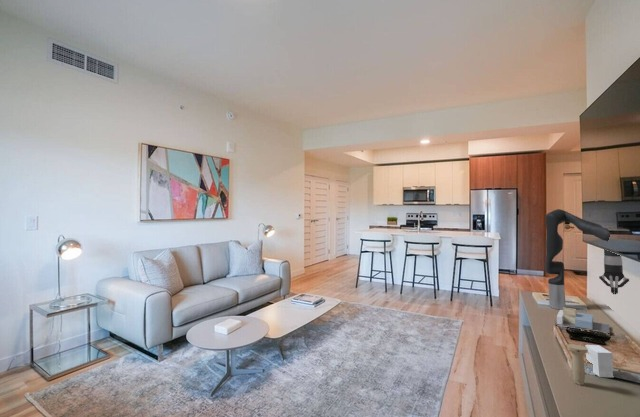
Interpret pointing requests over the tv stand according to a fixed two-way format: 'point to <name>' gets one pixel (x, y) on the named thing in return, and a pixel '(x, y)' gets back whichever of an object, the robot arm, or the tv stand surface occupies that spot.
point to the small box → (600, 360)
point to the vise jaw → (584, 320)
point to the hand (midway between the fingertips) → (614, 294)
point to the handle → (578, 362)
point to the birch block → (569, 315)
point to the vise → (595, 327)
